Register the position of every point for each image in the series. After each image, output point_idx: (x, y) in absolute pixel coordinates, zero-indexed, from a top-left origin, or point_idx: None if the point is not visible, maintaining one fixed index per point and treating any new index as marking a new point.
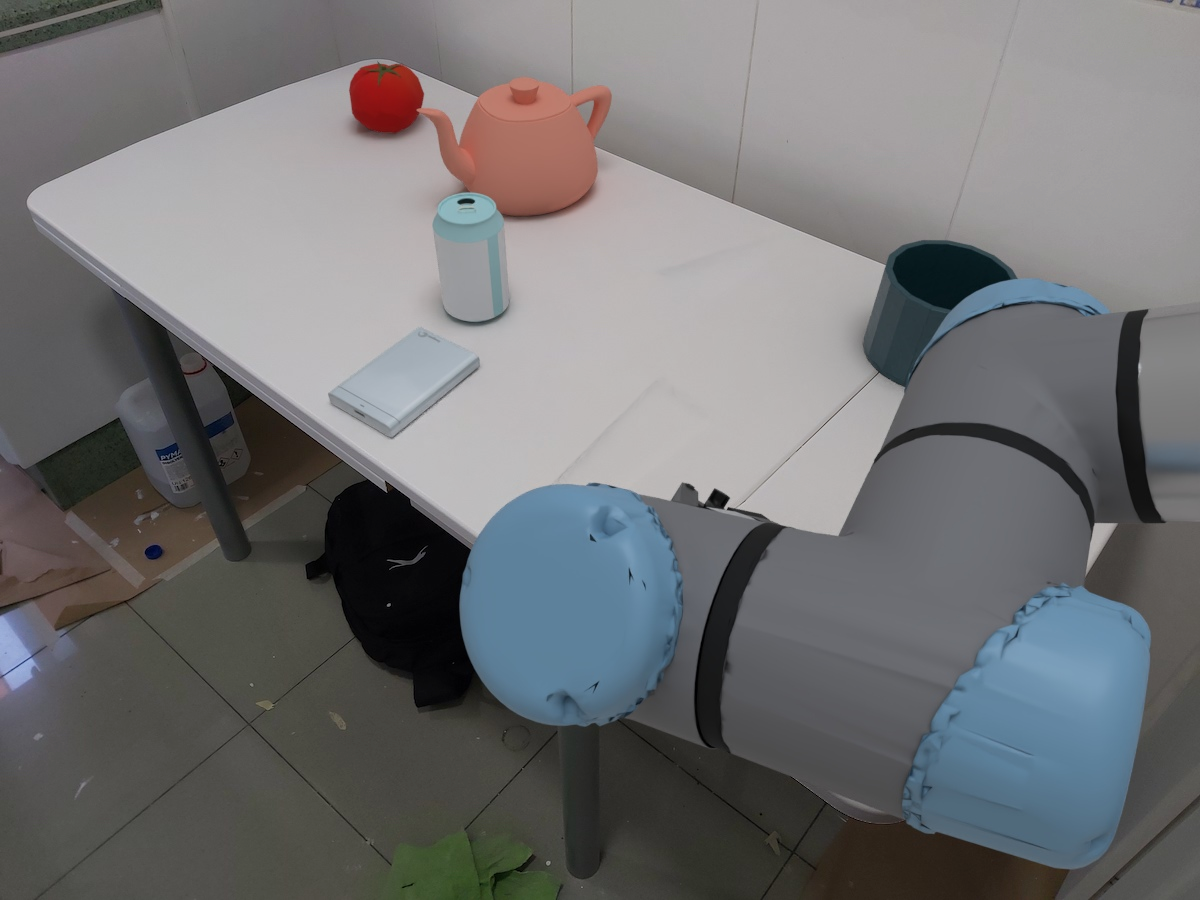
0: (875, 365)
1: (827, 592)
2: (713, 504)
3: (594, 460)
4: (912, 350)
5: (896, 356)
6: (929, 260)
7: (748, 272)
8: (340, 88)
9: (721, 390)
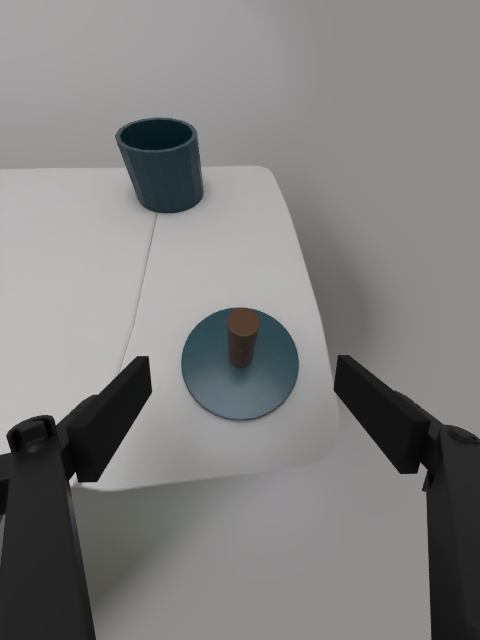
0: (153, 209)
1: None
2: (17, 470)
3: (9, 368)
4: (164, 188)
5: (159, 197)
6: (140, 137)
7: (54, 196)
8: None
9: (77, 267)
